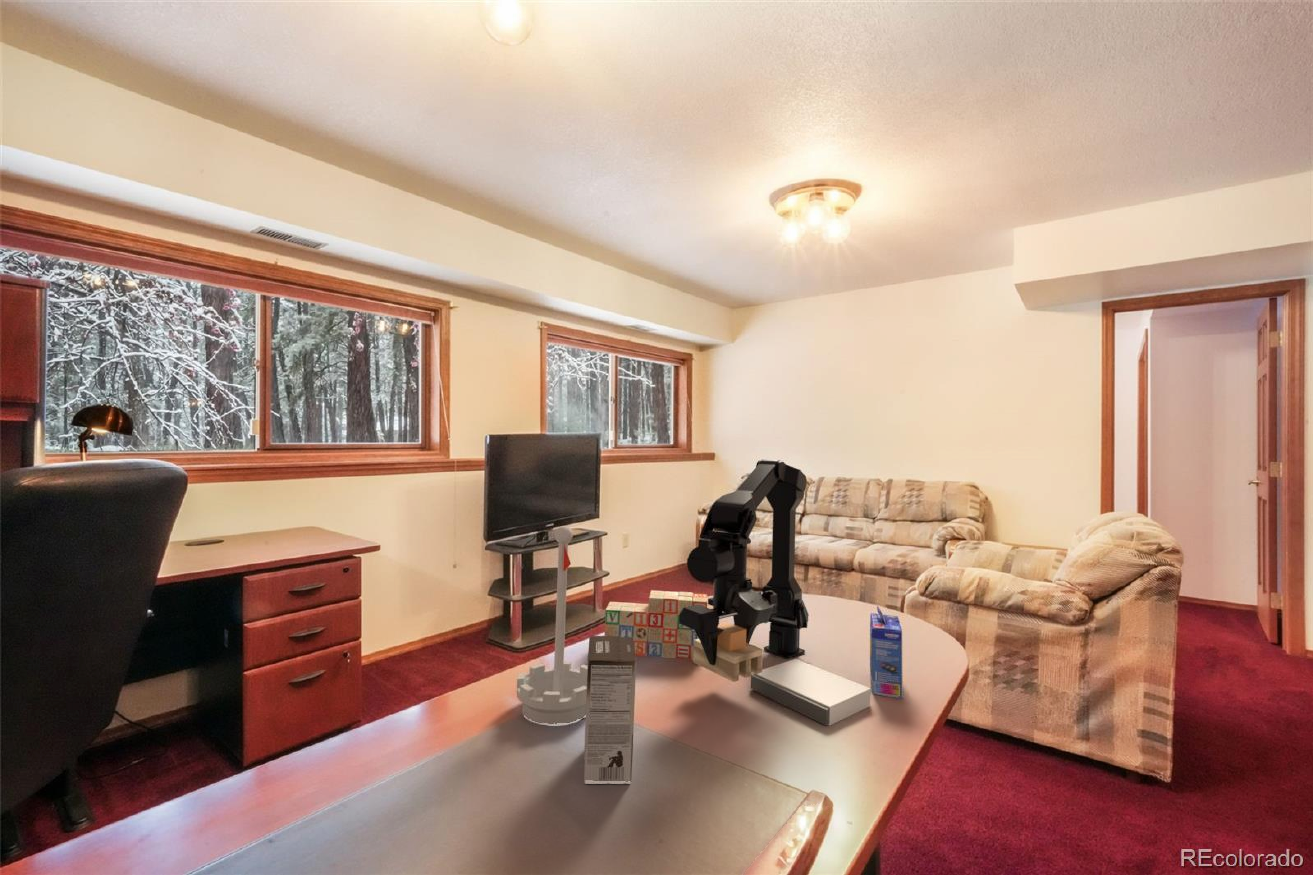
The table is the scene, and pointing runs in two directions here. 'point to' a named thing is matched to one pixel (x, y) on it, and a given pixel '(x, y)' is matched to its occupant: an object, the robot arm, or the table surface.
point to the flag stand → (555, 664)
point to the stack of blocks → (655, 624)
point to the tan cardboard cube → (731, 636)
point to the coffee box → (610, 708)
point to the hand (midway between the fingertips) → (727, 660)
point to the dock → (812, 691)
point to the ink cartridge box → (886, 655)
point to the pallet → (731, 661)
